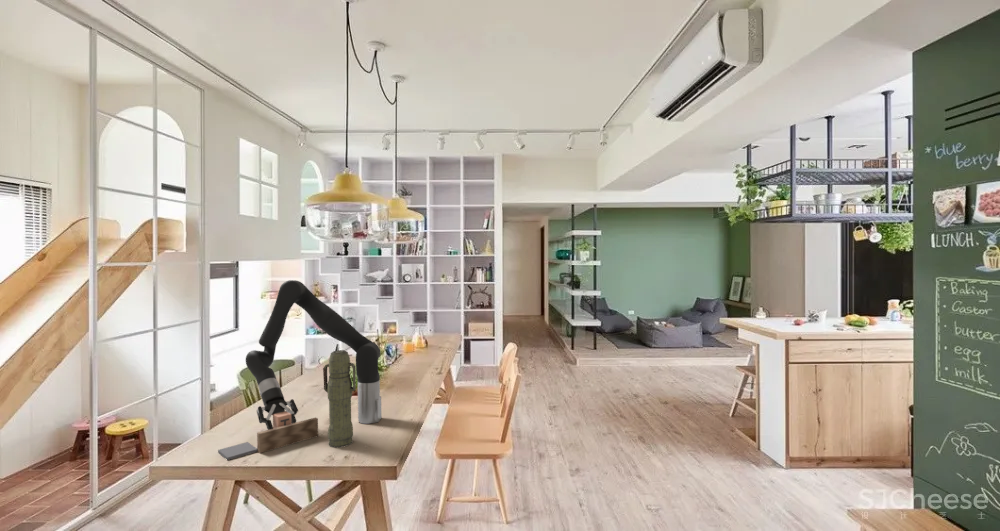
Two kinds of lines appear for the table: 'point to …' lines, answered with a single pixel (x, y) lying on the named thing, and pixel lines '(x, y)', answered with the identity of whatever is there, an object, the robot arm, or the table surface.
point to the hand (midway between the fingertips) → (283, 427)
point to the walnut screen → (287, 434)
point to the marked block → (281, 419)
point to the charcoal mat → (237, 450)
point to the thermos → (339, 398)
